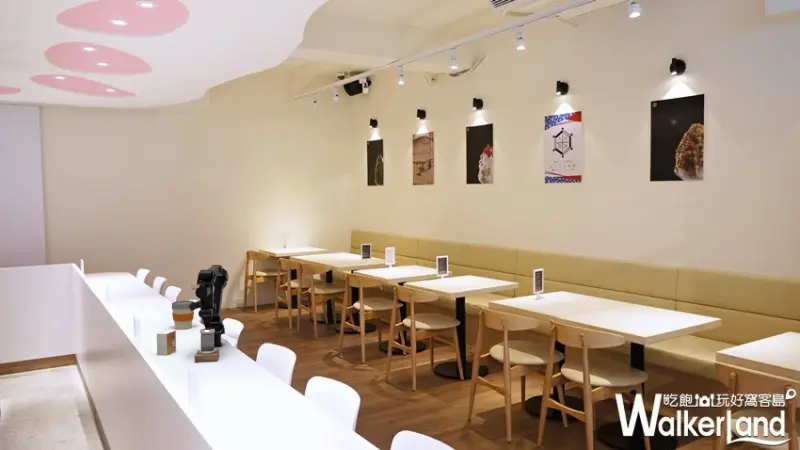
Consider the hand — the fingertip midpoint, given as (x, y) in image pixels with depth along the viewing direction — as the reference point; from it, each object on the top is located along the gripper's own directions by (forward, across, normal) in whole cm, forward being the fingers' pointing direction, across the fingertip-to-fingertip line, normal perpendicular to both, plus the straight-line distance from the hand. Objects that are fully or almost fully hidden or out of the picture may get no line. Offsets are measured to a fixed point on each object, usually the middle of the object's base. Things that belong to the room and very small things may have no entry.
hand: (207, 326), depth 289 cm
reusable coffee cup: (+13, -59, -21) cm, 64 cm away
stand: (+13, +11, +1) cm, 17 cm away
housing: (+10, +11, +1) cm, 15 cm away
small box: (+13, -4, -20) cm, 24 cm away
